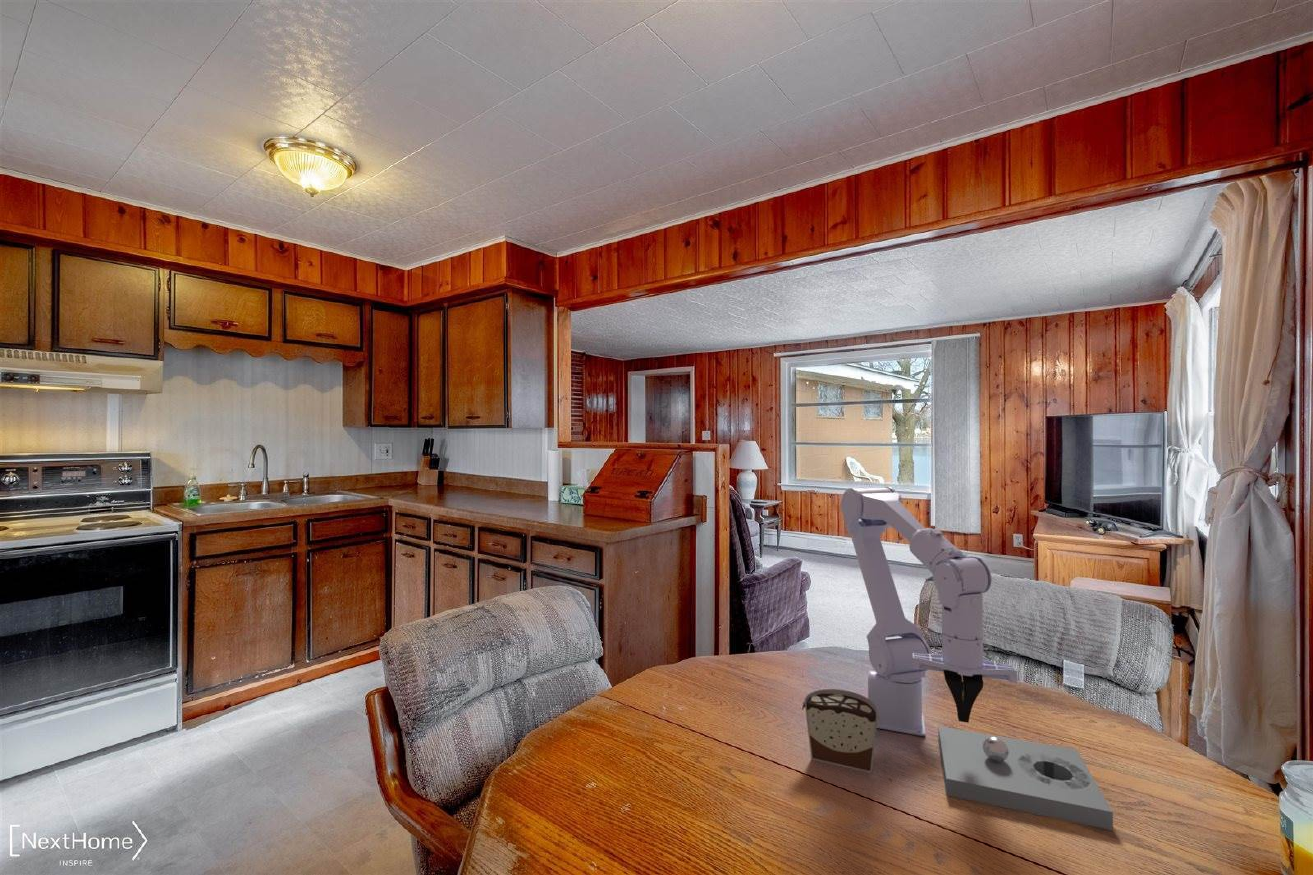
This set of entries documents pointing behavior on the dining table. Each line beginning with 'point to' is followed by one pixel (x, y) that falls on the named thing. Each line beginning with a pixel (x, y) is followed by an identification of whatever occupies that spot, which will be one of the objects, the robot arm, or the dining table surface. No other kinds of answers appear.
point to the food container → (841, 728)
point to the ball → (995, 749)
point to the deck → (1023, 778)
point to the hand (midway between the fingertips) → (963, 719)
